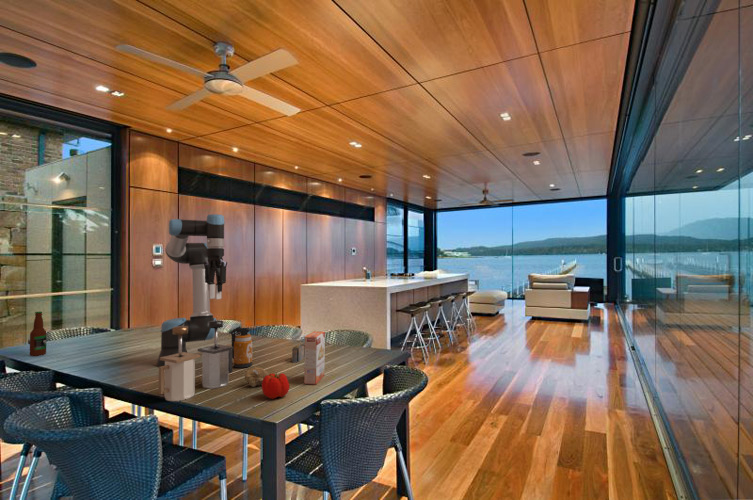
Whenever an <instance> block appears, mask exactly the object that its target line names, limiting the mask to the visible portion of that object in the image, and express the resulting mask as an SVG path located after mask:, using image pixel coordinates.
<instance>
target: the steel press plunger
mask: <svg viewBox="0 0 753 500" xmlns="http://www.w3.org/2000/svg"><path fill="white" fill-rule="evenodd" d="M223 327H224V320H221V319H220V320H219V319H218V320H217V319H216V320H214V321H209V328H214V337H213V339H214V341H213V343H214V349H217V345H218V329H221V328H223Z"/></svg>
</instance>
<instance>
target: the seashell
mask: <svg viewBox="0 0 753 500" xmlns="http://www.w3.org/2000/svg"><path fill="white" fill-rule="evenodd" d="M269 374H270V372H268V371H267V370H266V369H264V368H262V367H259V366H258V367H257V366H255V367H252V368H250V369H248V370H246V372H245V373H244V380H245V381H246V382H247V383H249V386H251V387H252V388H255V387H256V386H258V387H259V386H262V381H263V379H264V377H265V376H267V375H269Z"/></svg>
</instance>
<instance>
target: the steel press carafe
mask: <svg viewBox="0 0 753 500" xmlns="http://www.w3.org/2000/svg"><path fill="white" fill-rule="evenodd" d="M232 349H234V347H232V345H231V346H229V345H225V344H217V349H214V345H210V346H206V347H205V346H204V347H201V348H197V352H198V353H199V352H200V353H202V360H201V361H202V362H201V363H202V368H201V369H202V374H201V375H202V376H201V377H202V379H201V381H202V383H201V385H202V388H204V389H209V390H210V389H212V390H213V389H220V388H224V387H227V386H228V385H229V379H230V377H229V374H231V373H233V358H232V351H233V350H232Z"/></svg>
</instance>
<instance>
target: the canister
mask: <svg viewBox="0 0 753 500" xmlns="http://www.w3.org/2000/svg"><path fill="white" fill-rule="evenodd" d="M251 331H252V329H251V328H250V327H241V326H239V327H236V328H234V329H233V330H231V331H230V336H231V346H232V347H234V349H232V350H233V351H232V360H233V368H234V367H235V368H237V369H246V368H249V367H250V366H252V365H253V340H252V336H251V334H250V333H249V332H251Z"/></svg>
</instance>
